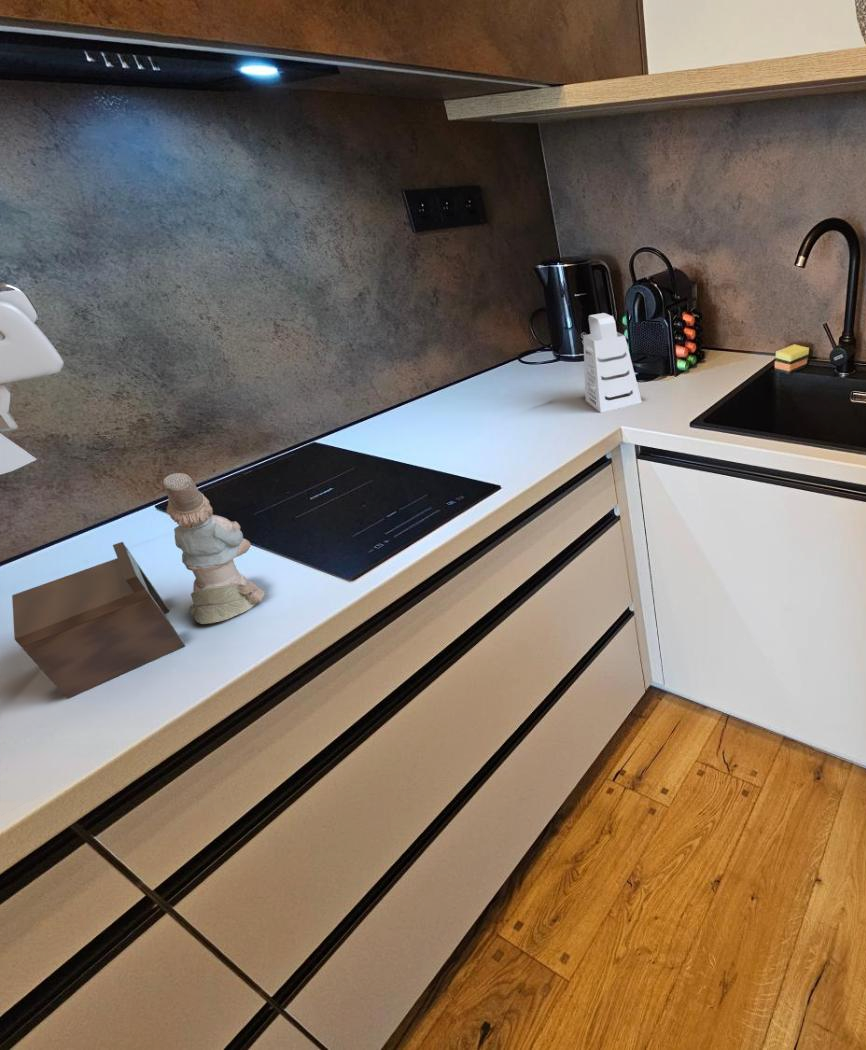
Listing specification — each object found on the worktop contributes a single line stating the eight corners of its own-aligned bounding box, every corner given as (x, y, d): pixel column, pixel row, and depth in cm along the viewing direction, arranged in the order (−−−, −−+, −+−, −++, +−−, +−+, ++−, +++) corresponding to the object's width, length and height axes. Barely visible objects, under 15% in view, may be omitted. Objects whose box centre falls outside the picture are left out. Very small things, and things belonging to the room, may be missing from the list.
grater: (600, 412, 135) (586, 323, 125) (585, 400, 143) (571, 316, 133) (642, 402, 139) (631, 315, 129) (625, 391, 147) (614, 308, 137)
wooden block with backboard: (67, 699, 66) (2, 626, 60) (60, 651, 73) (1, 582, 68) (185, 646, 73) (136, 576, 67) (167, 607, 80) (122, 541, 74)
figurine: (261, 615, 77) (182, 480, 67) (187, 632, 75) (93, 495, 64) (279, 578, 84) (210, 451, 74) (211, 593, 82) (131, 464, 72)
